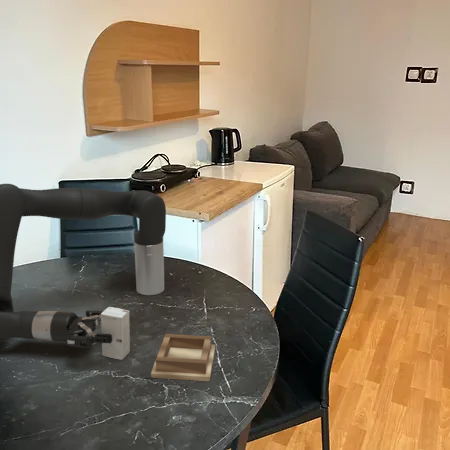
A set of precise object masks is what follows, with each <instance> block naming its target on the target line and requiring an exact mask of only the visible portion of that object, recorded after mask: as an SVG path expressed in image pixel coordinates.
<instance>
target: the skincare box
mask: <svg viewBox="0 0 450 450" xmlns="http://www.w3.org/2000/svg"><path fill="white" fill-rule="evenodd" d="M102 311H103V312H102V313H101V315H100V316H101V321H100V322H101V327H100V331H101V332H100V333H102V334H111V335H112V342H111V343H101V354H102V356H103V357H108V358H110V359H111V358H112V359H115V360H121V361H122V360H124V359H125V357H127V355H129V353H130V352H131V347H130V346H131V340H130V339H131V337H130V335H131V334H130V330H131V329H130V310H128V309H122V308H119V307H112V306H108V307H107V308H106V309H104V310H102Z"/></svg>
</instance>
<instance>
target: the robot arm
mask: <svg viewBox="0 0 450 450" xmlns="http://www.w3.org/2000/svg"><path fill="white" fill-rule="evenodd" d="M110 216H128V217H133V218H137V219H138V230H137V231H135V232H134V235H133V240H134V241H133V242H134V262H135V285H136V292H137V293H138V294H139V295H140V294H141V295H143V296H155V295H159V294H162V293H163V292H164V290H165V262H164V261H165V257H164V252H165V251H164V236H165V234H166V224H167V223H166V222H167V209H166V203H165V200H164V199H163V198H162V197H161V196H160V195H157V194H156V193H154V192H151V191H148V190H141V189H139V190H126V191H113V190H105V189H95V188H86V187H82V188H81V187H60V188H58V187H57V188H48V189H29V188H20V187H18V186H17V185H14V184H12V183H1V184H0V339H1V340H3V339H14V338H16V339H17V338H18V339H25V340H26V339H27V340H39V341H44V342H45V341H47V342H57V343H58V342H60V343H61V342H62V343H67V347H71V348H72V347H73V348H83V349H91V348H92V345H96V344H102V343H111V342H112V335H111V334H102V333H101V332H100V333H99V332H97V333H95V331H96V330H99V329H101V313H102V312H103V311H104V310H85V316H78V315H77V314H76V313H75V312H73V311H59V310H58V311H57V310H44V311H40V310H20V311H19V310H18V311H14V303H13V298H12V287H13V286H12V284H13V275H14V261H15V260H14V259H15V251H16V245H17V239H18V238H17V237H18V235H19V229H20V226H21V221H22V218H23V217H42V218H43V217H44V218H45V217H46V218H52V219H60V220H69V221H70V220H71V221H74V220H75V221H80V220H81V221H91V220H92V221H93V220H99V219H102V218H106V217H110ZM83 341H84V342H83Z"/></svg>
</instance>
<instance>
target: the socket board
mask: <svg viewBox="0 0 450 450" xmlns="http://www.w3.org/2000/svg"><path fill="white" fill-rule="evenodd" d="M162 340H163V341H162V342H161V345H160V348H159V351H158V353H157V356H156V358H155V361H154V364H153V367H152V369H151V373H150V378H151V379H152V378H153V379H164V380H165V379H166V380H167V379H168V380H182V381H183V380H184V381H196V382H210V380H211V375H212V369H213V362H214V357H215V353H216V344H212V336H209V335H206V336H205V335H190V334H176V333H175V334H173V333H165V335H164V336H163V339H162Z"/></svg>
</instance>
